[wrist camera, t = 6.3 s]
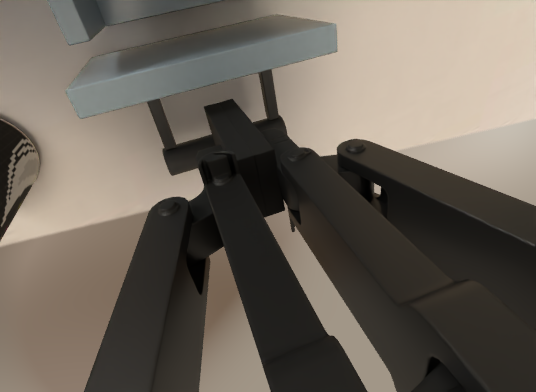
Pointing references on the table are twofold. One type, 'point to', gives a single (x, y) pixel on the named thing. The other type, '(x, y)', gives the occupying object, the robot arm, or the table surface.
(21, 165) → the beverage can
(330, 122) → the table surface
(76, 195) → the table surface
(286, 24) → the drawer
